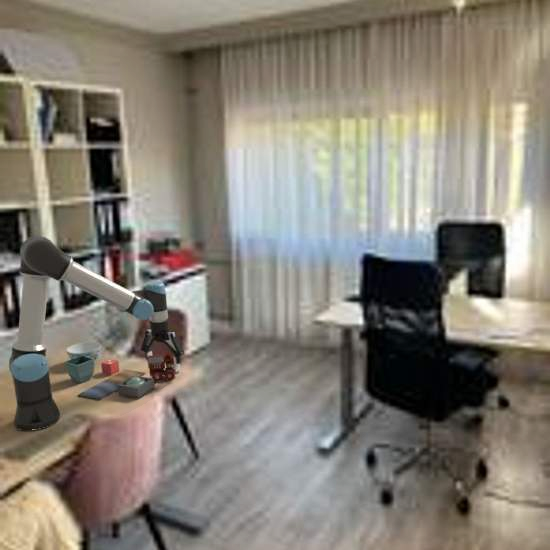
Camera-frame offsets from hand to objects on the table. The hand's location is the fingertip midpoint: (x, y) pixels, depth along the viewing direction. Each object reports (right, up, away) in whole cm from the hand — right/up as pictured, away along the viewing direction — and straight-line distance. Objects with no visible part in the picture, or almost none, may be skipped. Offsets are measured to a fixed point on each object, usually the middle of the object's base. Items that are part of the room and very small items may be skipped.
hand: (164, 369), depth 240 cm
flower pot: (-35, -5, +2) cm, 35 cm away
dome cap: (-8, -6, -13) cm, 17 cm away
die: (-25, -3, +9) cm, 27 cm away
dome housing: (-8, -7, -13) cm, 17 cm away
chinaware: (-40, -1, +22) cm, 45 cm away
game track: (-20, -6, -4) cm, 21 cm away
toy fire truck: (0, -4, +1) cm, 4 cm away
